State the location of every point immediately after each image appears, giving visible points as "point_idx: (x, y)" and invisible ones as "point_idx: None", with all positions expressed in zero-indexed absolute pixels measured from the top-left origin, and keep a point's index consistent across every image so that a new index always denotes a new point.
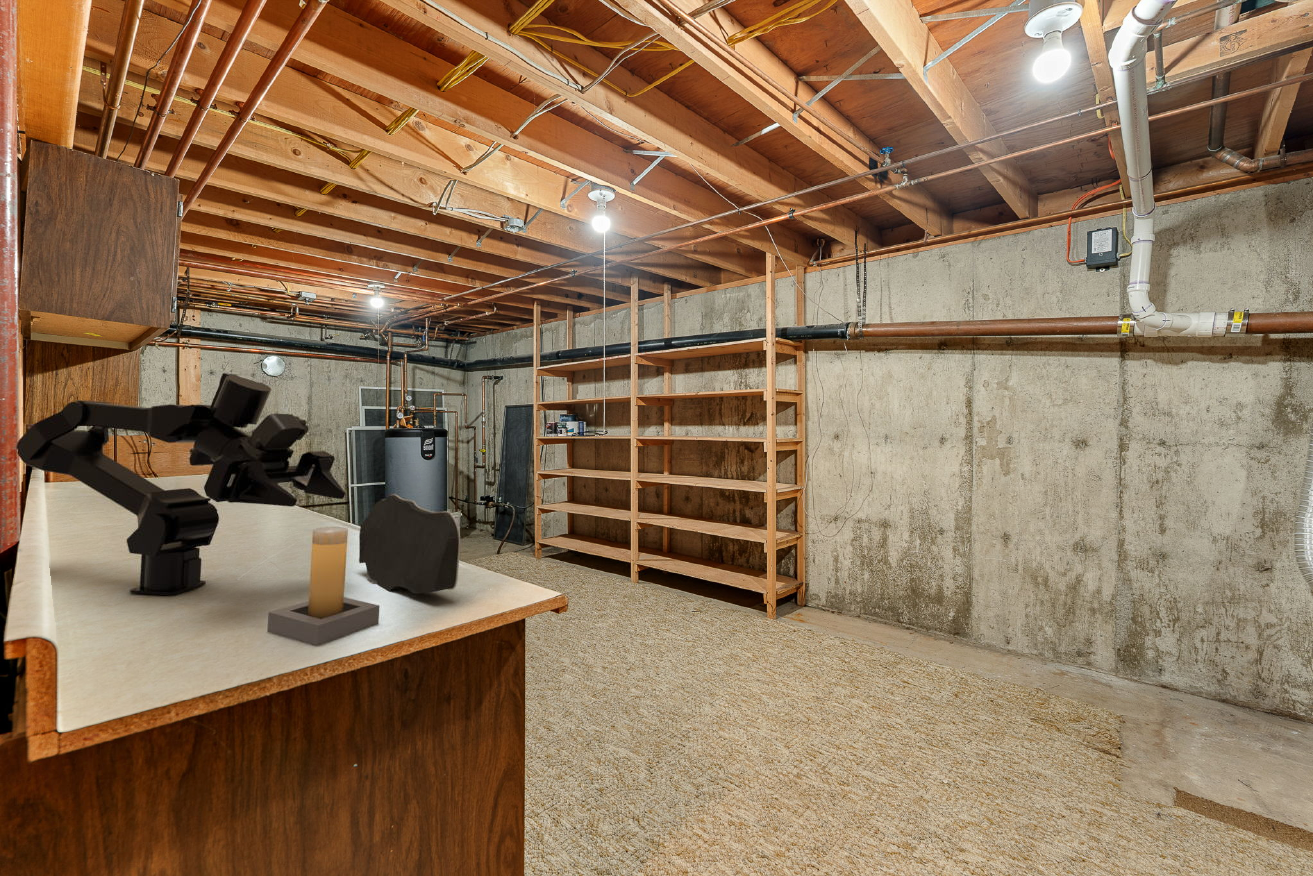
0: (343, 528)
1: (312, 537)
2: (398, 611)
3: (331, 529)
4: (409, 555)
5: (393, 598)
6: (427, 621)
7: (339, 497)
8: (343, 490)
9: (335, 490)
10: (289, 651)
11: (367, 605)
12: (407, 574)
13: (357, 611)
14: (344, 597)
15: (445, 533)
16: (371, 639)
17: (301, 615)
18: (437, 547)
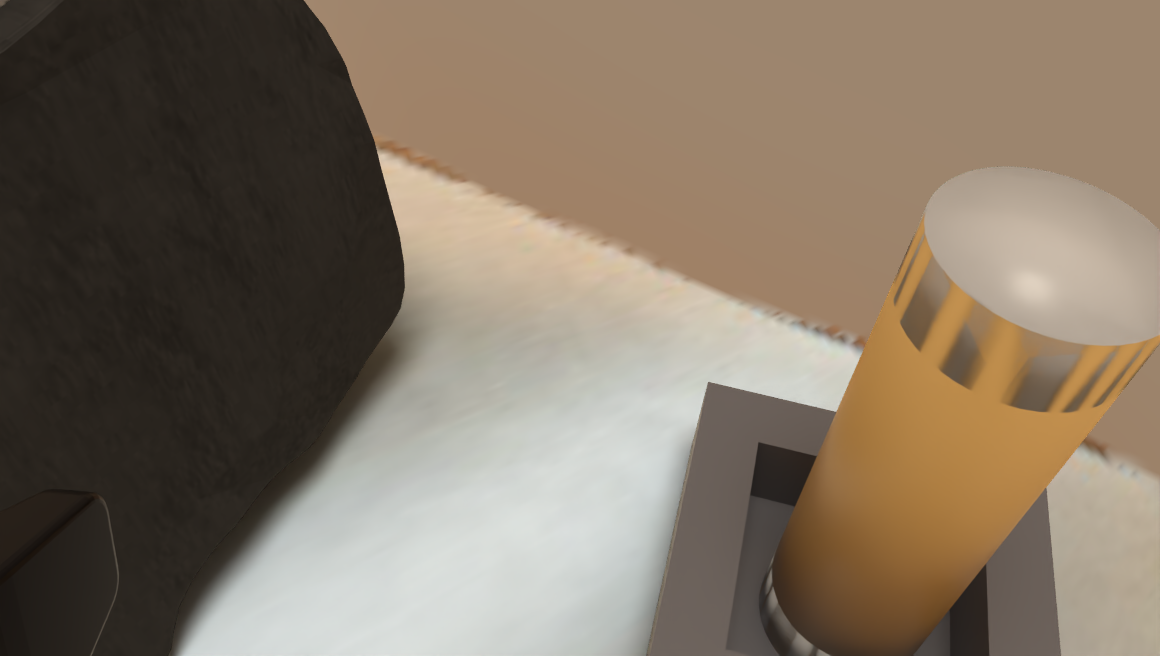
0: (949, 211)
1: (1145, 361)
2: (467, 470)
3: (1044, 246)
4: (121, 401)
5: (252, 598)
6: (557, 318)
7: (102, 609)
8: (6, 509)
9: (13, 648)
10: (1069, 608)
11: (732, 424)
12: (213, 454)
13: (823, 418)
14: (667, 595)
15: (286, 23)
16: (812, 404)
17: (1003, 608)
18: (304, 131)
